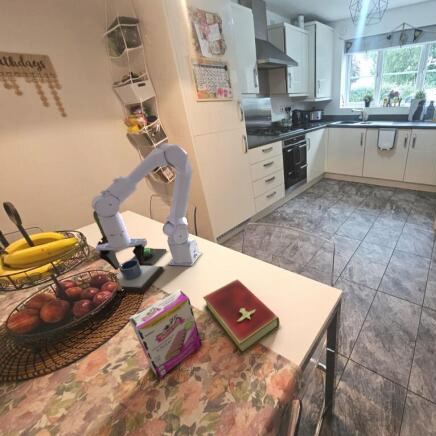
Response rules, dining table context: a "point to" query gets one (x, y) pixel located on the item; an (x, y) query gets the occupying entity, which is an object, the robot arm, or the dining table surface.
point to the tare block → (152, 256)
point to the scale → (140, 279)
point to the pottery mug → (103, 240)
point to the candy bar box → (167, 332)
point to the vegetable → (98, 222)
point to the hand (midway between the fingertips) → (130, 266)
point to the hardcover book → (241, 315)
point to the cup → (130, 269)
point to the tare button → (146, 251)
